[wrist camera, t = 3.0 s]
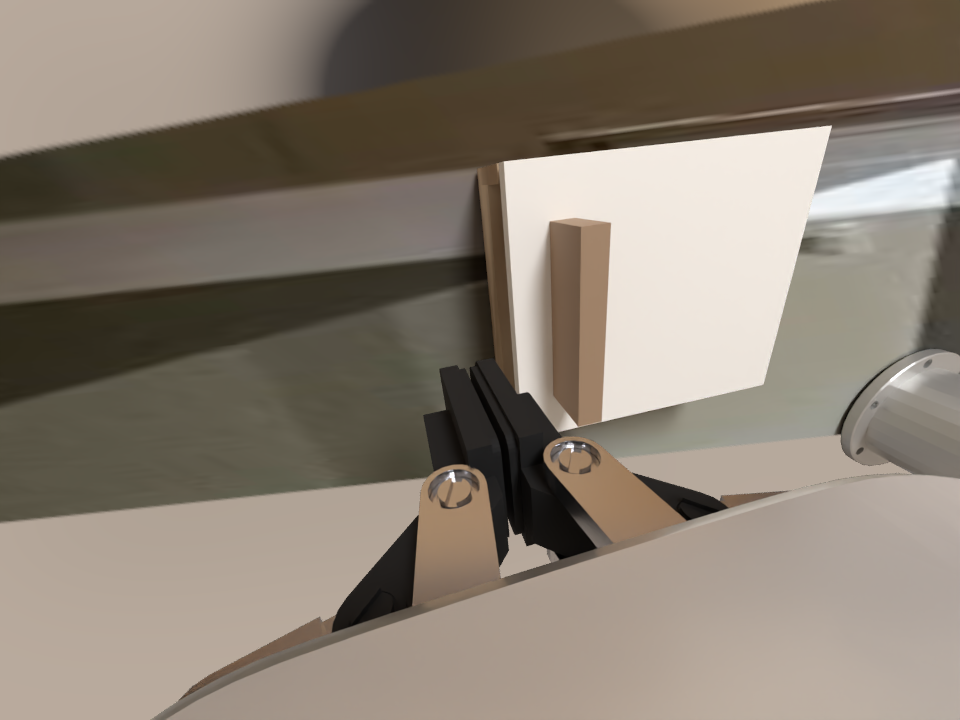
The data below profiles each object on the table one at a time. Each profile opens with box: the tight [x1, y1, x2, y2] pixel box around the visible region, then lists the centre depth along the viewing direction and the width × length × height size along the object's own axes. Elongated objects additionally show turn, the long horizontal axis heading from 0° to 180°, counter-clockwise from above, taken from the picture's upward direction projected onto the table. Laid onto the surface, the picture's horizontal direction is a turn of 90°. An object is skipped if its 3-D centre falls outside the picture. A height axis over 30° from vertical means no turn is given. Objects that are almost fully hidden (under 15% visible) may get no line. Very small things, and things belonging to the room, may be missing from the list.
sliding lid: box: [499, 126, 832, 432], centre depth 18 cm, size 16×14×4 cm
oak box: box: [477, 163, 515, 390], centre depth 22 cm, size 16×14×4 cm
